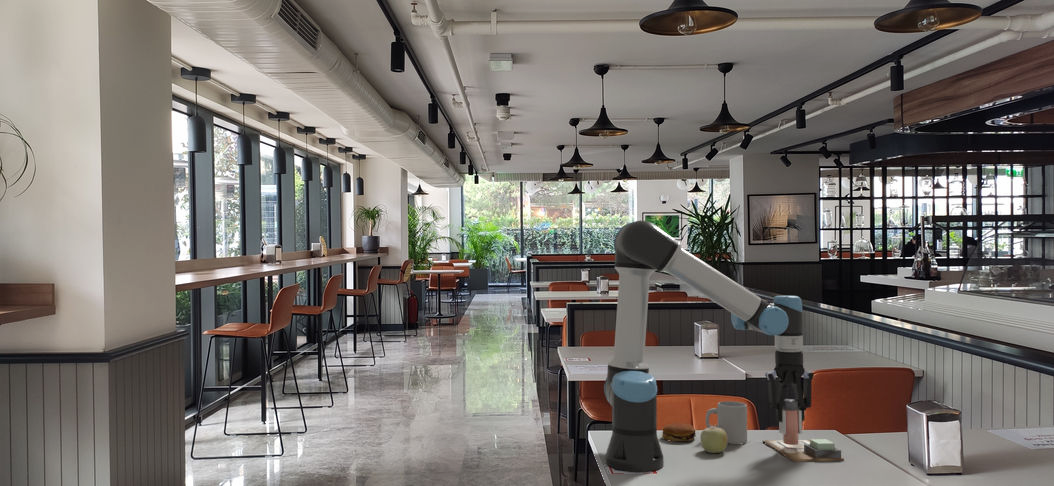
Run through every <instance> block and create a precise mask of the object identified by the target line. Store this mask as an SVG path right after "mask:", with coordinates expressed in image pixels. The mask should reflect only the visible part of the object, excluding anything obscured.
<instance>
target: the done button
mask: <svg viewBox="0 0 1054 486" xmlns="http://www.w3.org/2000/svg"><path fill="white" fill-rule="evenodd" d="M809 440H810V446H811V447H813V448H815V449H817V450H835V447H836V446H835V445H836V444H835V442H832V441H831V440H828V439H826V438H817V439H816V438H815V439H814V438H813V439H811V438H810V439H809Z"/></svg>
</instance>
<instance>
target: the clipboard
mask: <svg viewBox="0 0 1054 486" xmlns="http://www.w3.org/2000/svg"><path fill="white" fill-rule="evenodd" d="M763 442H765V443H766V444H767V445H766V444H765V443H764V444H765V445H766V446H768V445H769V446H770V448H771V447H772V448H771V449H773V448H774V449H775V450H774V449H773V450H774V451H776V450H777V451H778V453H779V452H780V453H779V454H781V455H783V456H784V457H786V458H787V459H789V460H791V461H792V462H796V463H797V462H834V461H835V462H836V461H837V460H844V461H845V458H844V457H843V456H842V450H841V449H839V448H837V447H836V446H835V450H817V449H815V448H813V447H811V446H810V439H798V444H797V445H788V444H785V443H783V439H780V440H779V439H775V440H770V439H769V440H768V439H767V440H762V443H763ZM769 446H768V447H769ZM777 451H776V452H777ZM837 462H838V461H837Z"/></svg>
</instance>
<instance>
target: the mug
mask: <svg viewBox="0 0 1054 486" xmlns="http://www.w3.org/2000/svg"><path fill="white" fill-rule="evenodd" d="M716 407H717V408H716ZM716 407H713V408H710V409H708V410H707V411H706V415H705V425H706V428H709V427H713V425H711V424H710V417H711V415H714V414H715V415H716V416H717V425H714V427H717V428H721V429H723V430H724V431H725V432H726V434H727V439H728V441H727V443H730V444H729V445H740V444H739V443H745V442H747V443H748V406H747V404H746V403H744V402H739V401H729V400H727V401H719V402H718V403H717V406H716ZM745 444H746V443H745Z"/></svg>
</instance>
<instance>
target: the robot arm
mask: <svg viewBox="0 0 1054 486" xmlns="http://www.w3.org/2000/svg"><path fill="white" fill-rule="evenodd" d="M613 248H614V251H615V254H614V255H615V256H614V257H615V258H614V269H615V270H616V272H617V273H618V275H619V277H618V289H617V305H616V320H615V332H614V333H615V334H614V335H615V336H614V350H613V351H614V352H613V358H612V359H611V360H610V361H608V363H607V372H606V373H607V374H606V379H605V381H604V384H603V392H604V396H605V398H606V400H607V402H608V404H610V406H611V407H612V408H611V411H612V412H611V413H612V414H611V416H612V417H611V418H612V420H611V421H612V425H611V426H612V427H611V429H612V432H611V437H610V439H609V443H608V446H607V449H606V453H605V464H606V466H608V467H610V468H613V469H616V470H621V471H626V472H651V471H656V470H659V469H661V468H663V467H664V463H665V462H664V454H663V450H662V448H661V444H660V442H659V438H658V433H657V432H658V431H657V429H658V428H657V426H658V425H657V423H658V421H657V417H658V416H657V413H658V411H657V410H658V408H657V405H658V400H657V395H658V386H657V380H656V378H655V377H654V376H653V375H652V374H650V373H649V372H650V365H648V363H646V360H645V352H646V351H645V350H646V335H647V325H648V324H647V322H648V310H649V309H648V307H649V305H648V304H649V291H650V280H651V279H650V277H651V276H652V274H654V273H655V272H656V271H658V272H659V273H662V272H663V273H664V272H665V273H668V274H669V275H670V276H672V277H674V278H675V279H677V280H678V281H680V282H682V283H684V284H685V285H687V287H689V288H692V289H693V290H695V291H696V292H697V293H699V294H701V295H702V296H704V297H706V298H707V299H709V300H711V302H714V303H715V304H717V305H718V306H720V307H722V308H723V309H725V310H726V311H728V312H729V313H730V317H731V318H730V319H731V324H732V326H733V328H734V329H735V330H742V331H749V330H751V331H754V332H758V333H762V334H765V335H767V336H774V348H775V351H774V360H775V361H774V362H775V363H774V364H775V366H774V369H773V371H770V372H766V373H765V378H766V380H767V390H768V391H767V394H768V407H770V408H773V409H775V419H776V421H777V422H778V427H779V428H778V430H779V431H778V432H779V433H780V434H781V435H783V434H786V411H785V410H783V406H784V400H785V399H786V393H787V388H788V386H789V384H791V386H792V389H793V394H794V397H795V399H794V400H797V401H798V435H802V434H803V422H805V420H806V419H805V411H807V409H809V408H811V407H812V392H813V391H812V390H813V387H812V382H813V378H814V376H815V375H814V373H813V372H811V371H806V370H805V368H804V352H803V351H802V350H803V348H804V340H803V339H804V336H803V335H804V334H803V313H804V311H803V301H802V299H801V297H799V296H798V295H776V296H774V297H773V300H772V301H773V302H768V301H766V300H764V299H763V298H761V297H760V296H758V295H757V294H755V293H753V292H752V291H751V290H749V289H747V288H745V287H744V286H742V285H741V284H739V283H738V282H736V281H734V280H733V279H731V278H729V277H728V276H726V275H725V274H723V273H722V272H720V271H719V270H717V269H715V268H714V267H712V266H711V265H710V264H709V263H706V262H705V261H703V260H702V259H700V258H699V257H696V256H695V255H694V254H692V253H690V252H688V251H687V250H685V249H684V248H683V247H682V246H681V242H680V241H679V240H677V239H675V238H674V237H672V236H671V235H670V234H668V233H667V232H665V230H663V229H661V228H660V227H659V226H657V225H656V224H655V223H653V222H650V221H648V220H636V221H632V222H629V223H626V224H625V225H622V226H621V228H619V230H618V231H617V233H615V236H614V241H613ZM802 377H803V389H802V383H801V378H802ZM776 378H778V387H777V388H778V389H776V385H777V384H776ZM802 390H803V391H802ZM776 391H777V392H776Z"/></svg>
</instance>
